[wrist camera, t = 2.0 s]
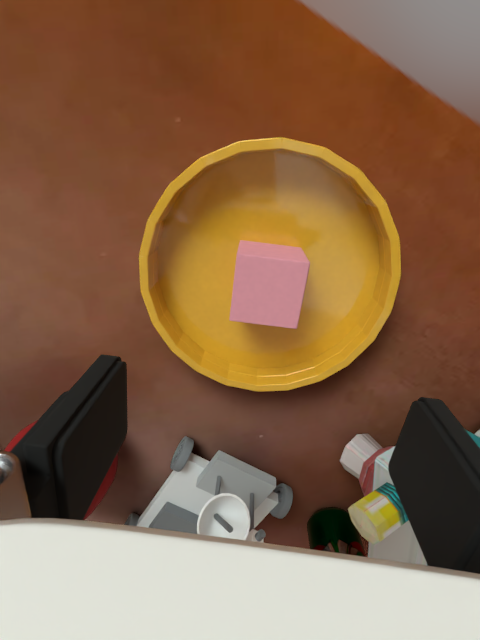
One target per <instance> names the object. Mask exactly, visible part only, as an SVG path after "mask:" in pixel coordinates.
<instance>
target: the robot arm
mask: <svg viewBox="0 0 480 640" xmlns="http://www.w3.org/2000/svg"><path fill="white" fill-rule="evenodd" d="M126 433H127V369H126V363H125V362H121V358H120V357H117V356H110V355H101V356H99V358H98V359H97V360H96V361H95V362H94V363H93V364H92V366H91V367H90V368H89V369H88V370H87V371H86V372H85V373H84V375H83V376H82V377H81V378H80V379H79V380H78V381H77V383H76V384H75V385H74V386H73V387H72V388H71V389H70V390H69V391H67V392H64V393H63V394H62V395H61V396H60V397H59V398H58V399H57V400H56V401H55V402H54V403H53V404H52V406H51V407H50V408H49V409H48V410H47V411H46V412H45V413H44V414H43V415H42V417H41V418H40V419H39V420H38V421H37V422H36V423H35V424H34V425H33V427H32V428H31V429H30V430H29V431H28V432H27V433H26V434H25V435H24V437H23V438H22V439H21V440H20V441H19V442H18V443H17V444H16V445H15V446H14V448H13V449H12V450H11V451H10V452H8V451H3V450H0V640H480V448H479V447H478V445H477V444H476V443H475V442H474V440H473V439H472V438H471V437H470V435H469V434H468V433H467V431H466V430H465V429H464V428H463V426H462V425H461V424H460V423H459V421H458V420H457V419H456V418H455V416H454V415H453V414H452V413H451V411H450V410H449V409H448V407H447V406H446V405H445V404H444V402H443V401H441V400H439V399H432V398H424V397H421V398H419V399H418V401H414V402H413V403H412V405H411V407H410V410H409V413H408V415H407V418H406V420H405V423H404V425H403V428H402V430H401V433H400V436H399V438H398V441H397V443H396V446H395V448H394V451H393V453H392V456H391V459H390V461H389V465H388V470H389V475H390V477H391V480H392V482H393V484H394V487H395V489H396V491H397V494H398V496H399V498H400V501H401V503H402V505H403V508H404V510H405V513H406V515H407V517H408V520H409V522H410V524H411V527H412V529H413V531H414V534H415V536H416V539H417V541H418V543H419V546H420V548H421V550H422V553H423V555H424V557H425V560H426V562H427V564H428V566H426V565H419V564H412V563H405V562H398V561H391V560H384V559H377V558H370V557H363V556H356V555H349V554H342V553H334V552H327V551H320V550H313V549H305V548H298V547H291V546H283V545H276V544H269V543H261V542H254V541H246V540H239V539H232V538H224V537H216V536H209V535H201V534H193V533H186V532H178V531H170V530H163V529H155V528H147V527H139V526H131V525H122V524H113V523H104V522H95V521H86V520H83V519H84V517H85V515H86V513H87V511H88V509H89V507H90V505H91V503H92V501H93V499H94V497H95V495H96V493H97V492H98V490H99V488H100V486H101V484H102V482H103V480H104V478H105V476H106V474H107V472H108V470H109V468H110V466H111V464H112V462H113V460H114V459H115V457H116V455H117V453H118V451H119V449H120V447H121V445H122V443H123V441H124V439H125V437H126Z"/></svg>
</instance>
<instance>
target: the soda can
mask: <svg viewBox="0 0 480 640" xmlns="http://www.w3.org/2000/svg"><path fill="white" fill-rule="evenodd" d="M307 531H308V539H309V546H310V549H313V550H320V551H327V552H334V553H342V554H349V555H356V556H363V557H366V555H365V551H364V548H363V544H362V541H361V537H360V534H359V531H358V530H357V528H356V527H355V526H354V524H353V523H352V521H351V518H350V514H349V513H348V512H346V511H345V510H343V509H340V508H335V507H328V508H323V509H320V510H318V511H317V512H315V513H314V514H313V515H312V516H311V518H310V519H309V521H308V523H307Z"/></svg>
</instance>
